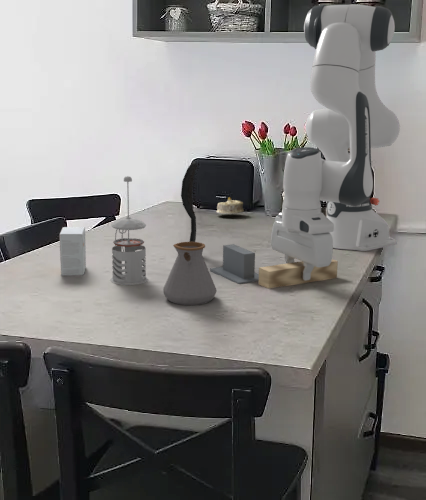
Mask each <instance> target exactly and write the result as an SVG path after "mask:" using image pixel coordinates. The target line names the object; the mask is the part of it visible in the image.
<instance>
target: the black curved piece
mask: <svg viewBox="0 0 426 500" xmlns="http://www.w3.org/2000/svg"><path fill="white" fill-rule="evenodd" d="M197 166H198V167H200V164H199V163H197V161H193V162H191V163H190V165H189V166H188V168H187V169H186V172H185V174H184V176H183V179H182V180H181V181H182V182H181V191H180V199H181V202H182V203H181V204H182V207H183V208H184V210H185V212H186V213H187V215H188V216H189V218H190V236H189V240H188V242H196V238H197V216H196V212H195V209H196V208H197V207H195V206H196V203H194V200H195V201H196V197H197V196H195V195H196V193H195V192H196V190H195V189H197V187H194V185H196V182H194V180H197V177H195V175H196V176H197V175H198V172H199V169H200V168H198V167H197ZM193 191H194V192H193ZM193 195H194V198H193ZM194 205H195V206H194Z"/></svg>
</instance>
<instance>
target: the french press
mask: <svg viewBox="0 0 426 500" xmlns="http://www.w3.org/2000/svg"><path fill="white" fill-rule="evenodd" d="M132 181H133V179H132V177H131V176H129V175H127V176H124V178H123V182H124V183H125V182H126V184H127V186H126V187H127V191H126V192H127V216H126V217H123V218H119V219H117V220H115V221H113V222H112V223H111V224H110V226H111V227H112V228H113V229H116V230H115V234H114V235H115V236H114V240H113V242H112V243H113V244H114V246H113V247H112V248H111V254H112V256H111V258H112V262H111V263H112V277H111V278H110V279H109V281H110V282H111V283H113V284H116V285H122V286H123V285H125V286H127V285H128V286H129V285H131V286H132V285H139V284H140V285H141V284H143V283H146V282H147V283H148V281H149V278H148V277H147V273H146V272H147V271H146V270H147V268H146V267H147V263H146V259H147V258H146V256H147V254H146V247H145V246H144V243H145V241H144V240H143V239H141V238H132V237H130V231H138V230H142V229H144V228H146V226H147V224H146V223H145V222H144V221H142V220H141V219H139V218H135V217H130V212H129V211H130V210H129V209H130V206H129V205H130V202H129V201H130V199H129V196H130V195H129V191H130V190H129V183H130V182H132ZM117 233H119V234H120V235H121V238H117ZM125 233H127V237H124V234H125ZM123 262H124V263H123Z"/></svg>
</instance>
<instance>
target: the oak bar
mask: <svg viewBox="0 0 426 500" xmlns="http://www.w3.org/2000/svg"><path fill="white" fill-rule="evenodd" d="M338 263H339V262H338V260H336V259H333V258H332V262H331V263H330V265H329V266H326V267H315V266H314V268H313V270H312V272H311V278H310V280H306V281H305V280H303V279H301V272H303V271H304V268H305V266H304V262H303V261H300V260H299V261H296V262H295V261H294V262H293V263H287V264H286V263H280V264H275V265H268V266H261V267H258V274H259V281H258V286H261V287H264V288H266V289H273V288H280V287H288V286H294V285H295V286H296V285H301V284H302V285H303V284H307V283H315V282H319V281H320V282H321V281H326V280H331V279H337V278H338Z"/></svg>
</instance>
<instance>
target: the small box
mask: <svg viewBox="0 0 426 500" xmlns="http://www.w3.org/2000/svg"><path fill="white" fill-rule="evenodd" d="M86 248H87V247H86V227H84V226H69V227H68V226H64V227H63V226H62V228H61V230H60V232H59V253H60V254H59V255H60V256H59V257H60V259H59V260H60V276H84V274H85V272H86V268H87V254H86V253H87V252H86V251H87V250H86Z"/></svg>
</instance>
